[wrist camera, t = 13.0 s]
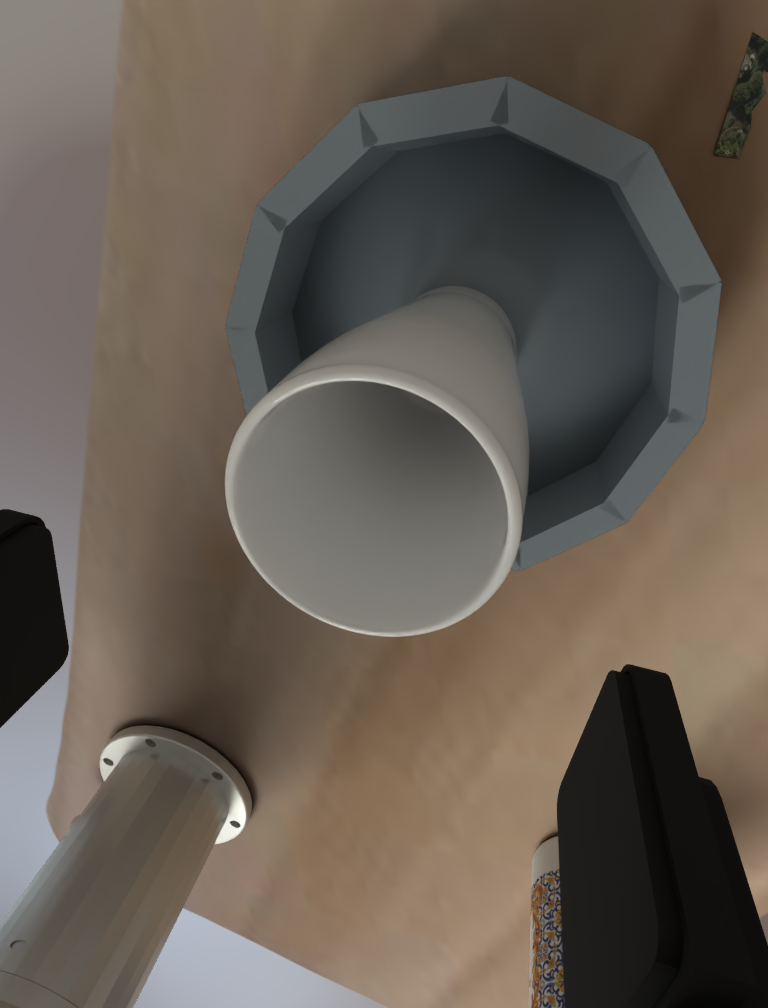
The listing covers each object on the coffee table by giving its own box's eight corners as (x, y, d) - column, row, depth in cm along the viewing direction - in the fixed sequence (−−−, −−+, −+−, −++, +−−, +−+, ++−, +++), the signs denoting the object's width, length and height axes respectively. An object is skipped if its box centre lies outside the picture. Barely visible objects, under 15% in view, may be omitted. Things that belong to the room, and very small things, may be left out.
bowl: (422, 565, 33) (403, 623, 28) (208, 291, 28) (148, 311, 24) (760, 396, 25) (805, 442, 20) (539, -22, 20) (537, -75, 16)
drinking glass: (382, 255, 25) (206, 341, 12) (550, 273, 23) (559, 390, 11) (372, 411, 28) (226, 610, 15) (519, 433, 27) (497, 669, 14)
